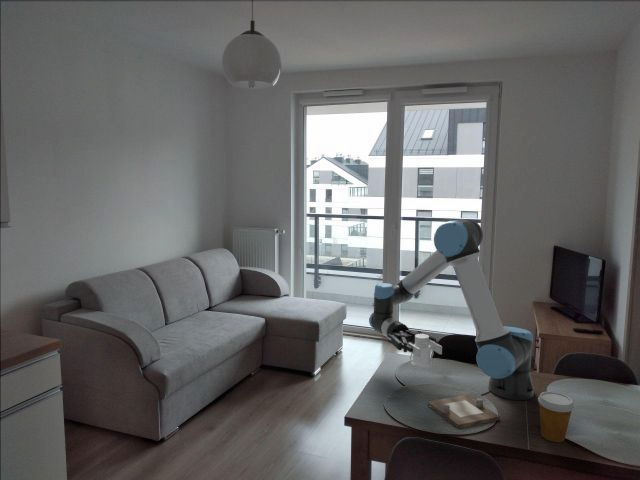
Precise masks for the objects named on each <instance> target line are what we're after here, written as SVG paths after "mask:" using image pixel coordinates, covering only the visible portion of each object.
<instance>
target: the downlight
mask: <svg viewBox="0 0 640 480" xmlns="http://www.w3.org/2000/svg"><path fill="white" fill-rule="evenodd" d="M429 336H430V335H429ZM429 336H428V334H426V333H424V334H416V335H415V343H412V344H413V345H415V346H416V347H418V348H420V349H421V352H420V357H417V356H416V355H414V354H412V353H411V352H410V357H409V360H410V361H409V362H410V363H411V365H412V366H414V367H416V368H429V367H432V366H433V362H432V360H433V356H434V351H433V349H431V346H430V345H429Z"/></svg>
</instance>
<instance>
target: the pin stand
mask: <svg viewBox="0 0 640 480" xmlns="http://www.w3.org/2000/svg"><path fill="white" fill-rule="evenodd" d="M428 405H429V406H428ZM427 406H428V407H430V406H431V407H432V408H433V409H432V408H431V407H430V408H431V409H432V410H433V411H435V410H436V411H437V412H438V414H439V413H440V414H441V415H442V416H441V415H440V414H439V415H440V416H441V417H442V418H444V419H445V418H446V419H447V420H446V419H445V420H446V421H448V422H449V423H450V424H451V423H452V425H453V426H454V427H456V429H462V428H469V427H471V426H477V425H481V424H486V423H492V422H495V421H500V420H501V416H500V415H499V414H497V413H496V412H495V411H492V410H491V409H490V408H488V407H487V406H485V405H484V399H482V398H479V397H478V398H473V397H472V396H470V395H469V394H462V395H457V396H451V397H446V398H441V399H440V398H439V399H434V400H428V401H427ZM436 411H435V412H436ZM437 412H436V413H437Z"/></svg>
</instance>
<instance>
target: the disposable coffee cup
mask: <svg viewBox="0 0 640 480" xmlns="http://www.w3.org/2000/svg"><path fill="white" fill-rule="evenodd" d="M537 401H538V405H539V419H540V423H539V424H540V436H541V437H543V438H544V439H545V440H548V441H551V442H554V443H561V442H564V441H565V439H566V434H567V431H568V426H569V423H570V418H571V416H572V411H573V409H574V408H575V404H574V401H573V399H572V398H571V397H569V396H568V395H566V394H563V393H560V392H556V391H543V392H541V393H540V394H539V396H538V398H537Z"/></svg>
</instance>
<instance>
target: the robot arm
mask: <svg viewBox="0 0 640 480" xmlns="http://www.w3.org/2000/svg"><path fill="white" fill-rule="evenodd" d="M483 239H484V231H483V229H482V226H481V225H480V224H479V222H477V221H476V220H475V221H474V220H473V219H471V218H470V219H469V218H463V219H457V220H456V219H453V220H449V221H445V222H444V223H442V224H440V225H439V226H438V227H437V229H436V231H435V233H434V235H433V244H434V247H435V249H436V250H435V251H434V252H433V253H432V254H430V255H429V256H428V257H427V258H425V259H424V260H423V261H422V262H421V263H420V264H418V266H416V267H415V268H414V269H412V270H411V272H410V273H408V274H407V275H406V276H405V277H404V278H402V279H401V280H400V281H399V282H398V283H397V284H395V285H393V284H391V283H389V282H388V283H387V282H382V283H379V282H378V283H376V284H375V285H374V293H373V312H372V313H371V314H370V315H369V319H368V323H369V325H370V327H371V328H372V329H374V331H376V332H378V333H380V335H383V336H385V337H386V338H387V342H388V343H390V344H392V345H393V347H395V348H396V349H397V350H398V351H402V350H403V352H404V353H407V352H409V353H410V354H411V353H412V355H413V354H414V355H416V356H417V357H420V352H421V349H420V348H418V347H416V346H415V345H413V344H415V335H416V334H425V333H423V332H422V331H421V330H417V332H413V331H411V330H410V329H409V327H408V326H407V325H406V324H405V323H402V322H401V321H399V320H397V319H395V318H393V317H394V316H393V315H394V306H396V305H399V304H402V303H406V302H409V301H410V300H411V299H412V298H414V296H415V294H416V293H417V292H418V291H420V290H421V289H422V288H424V287H425V286H426V285H427V284H428V283H430V282H431V281H433V280H434V278H436V277H437V276H438V275H439V274H441V273H442V272H443V271H444V270H446V269H447V268H448V267H450V266H451V267H452V268H453V270H454V274H455V275H456V278H457V279H456V280H457V281H458V285H459V287H460V290H461V293H462V295H463V298H464V301H465V304H466V306H467V308H468V311H469V314H470V317H471V320H472V323H473V326H474V328H475V331H476V337H475V339H474V341H475V345H476V347H477V353H476V355H475V356H476V357H475V358H476V359H475V360H476V364H477V366H478V368H479V369H480V370H481V372H483V373H482V374H485V375H487V376H488V377H489V380H488V384H487V385H488V386H487V387H488V389H489V391H490V392H491V393H492V394H494V395H496V396H498V397H500V398H504V399H507V400H513V401H527V400H531V399H532V398H533V397H534V395H535V394H534V393H535V388H534V384H533V380H532V376H531V366H532V365H531V364H532V353H533V343H534V337H533V336H534V334H533V333H532V332H531V331H530V330H527V329H524V328H520V327H514V326H508V325H503V323H502V321H501V318H500V315H499V312H498V310H497V307H496V304H495V302H494V299H493V297H492V294H491V291H490V289H489V285H488V283H487V280H486V276H485V274H484V271H483V270H482V267H481V263H480V261H479V256H480V255H481V251H480V248H479V247H480V245H481V244H482V242H483ZM427 335H428V334H427ZM428 336H429V345H430V346H431V350H432V349H433V352H435V353H437V354H438V355H443V346H442V345H440V344H439V343H437V338H436V337H434V336H430V335H428Z"/></svg>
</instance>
